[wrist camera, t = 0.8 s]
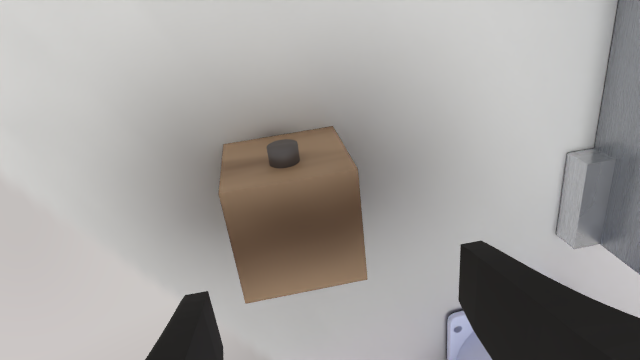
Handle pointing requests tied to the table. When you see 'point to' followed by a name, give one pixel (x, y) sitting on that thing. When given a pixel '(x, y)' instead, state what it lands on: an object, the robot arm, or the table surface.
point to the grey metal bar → (610, 157)
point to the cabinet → (292, 213)
